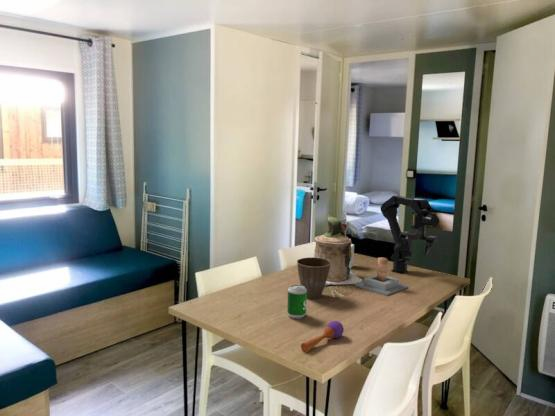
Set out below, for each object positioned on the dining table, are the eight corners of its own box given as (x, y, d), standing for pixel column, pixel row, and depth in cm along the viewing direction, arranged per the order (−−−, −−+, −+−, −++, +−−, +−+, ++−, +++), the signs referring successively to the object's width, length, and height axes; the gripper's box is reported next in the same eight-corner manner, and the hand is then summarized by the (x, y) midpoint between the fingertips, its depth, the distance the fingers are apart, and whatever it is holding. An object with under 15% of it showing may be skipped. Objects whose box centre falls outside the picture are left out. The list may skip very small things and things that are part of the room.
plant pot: (335, 296, 205) (337, 262, 203) (315, 304, 194) (316, 268, 192) (310, 288, 215) (311, 255, 213) (289, 296, 204) (290, 261, 202)
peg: (374, 283, 221) (376, 257, 219) (382, 283, 222) (384, 257, 220) (379, 286, 217) (380, 260, 215) (387, 285, 218) (389, 259, 216)
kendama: (296, 338, 153) (332, 317, 167) (299, 355, 153) (334, 333, 167) (309, 340, 149) (345, 319, 163) (312, 358, 149) (348, 335, 163)
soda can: (300, 321, 176) (301, 291, 175) (283, 316, 180) (284, 287, 179) (309, 314, 183) (310, 286, 181) (293, 310, 187) (293, 282, 185)
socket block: (354, 286, 220) (355, 278, 219) (375, 278, 232) (376, 271, 231) (386, 295, 207) (387, 287, 206) (407, 287, 219) (407, 279, 219)
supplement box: (337, 267, 251) (338, 245, 249) (340, 264, 258) (341, 242, 256) (350, 269, 248) (351, 246, 246) (353, 265, 255) (354, 243, 253)
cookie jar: (316, 287, 218) (318, 221, 213) (301, 272, 241) (303, 212, 236) (364, 284, 224) (367, 220, 219) (344, 269, 247) (347, 211, 242)
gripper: (394, 222, 231) (393, 252, 234) (428, 228, 218) (426, 260, 220) (406, 220, 239) (404, 249, 241) (439, 225, 226) (437, 256, 228)
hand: (417, 253), depth 232 cm, fingers open, 9 cm apart
